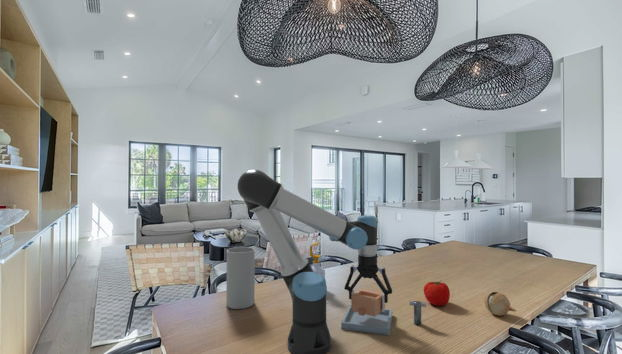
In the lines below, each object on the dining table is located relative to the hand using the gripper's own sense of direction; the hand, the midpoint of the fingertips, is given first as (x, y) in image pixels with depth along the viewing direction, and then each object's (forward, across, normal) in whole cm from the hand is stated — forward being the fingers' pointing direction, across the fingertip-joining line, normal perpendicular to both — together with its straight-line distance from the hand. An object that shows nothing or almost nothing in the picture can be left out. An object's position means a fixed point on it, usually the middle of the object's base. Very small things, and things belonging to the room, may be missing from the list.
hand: (368, 308), depth 125 cm
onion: (+6, -52, -22) cm, 57 cm away
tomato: (+6, -28, -28) cm, 40 cm away
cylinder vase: (+5, +58, -1) cm, 58 cm away
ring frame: (0, 0, 0) cm, 0 cm away
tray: (+5, 0, 0) cm, 5 cm away
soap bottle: (+5, +30, -29) cm, 42 cm away
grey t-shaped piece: (+5, -19, -4) cm, 20 cm away
